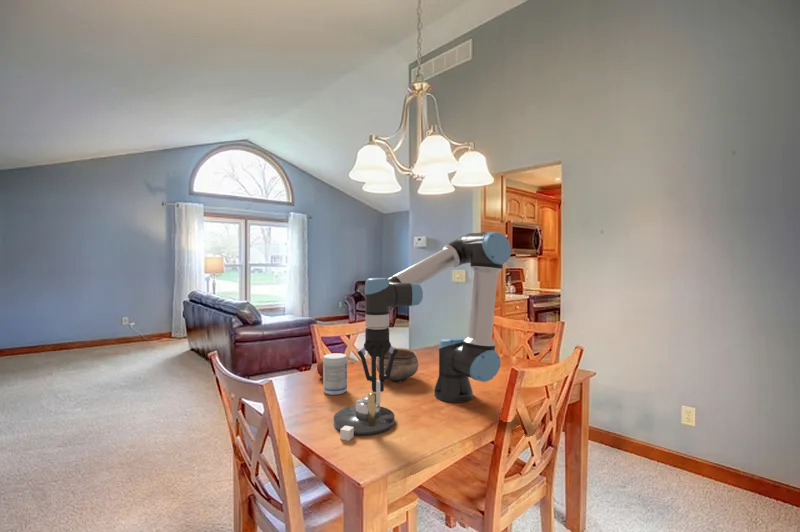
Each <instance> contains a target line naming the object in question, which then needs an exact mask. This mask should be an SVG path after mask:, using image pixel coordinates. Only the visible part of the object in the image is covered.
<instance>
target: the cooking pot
mask: <svg viewBox="0 0 800 532" xmlns="http://www.w3.org/2000/svg"><path fill="white" fill-rule="evenodd" d="M395 348H396V349H397V350H398V352H397V354H396V355H395V357H394V361H393V365H392V370H391V374H390V378H389V379H388V381H390V382H393V383H400V382H402V383H403V382H404V381H406V380H408V379H409V378H411V377H413V376H414V375H415V374H416V373H417V372H418V370H419V360H418V357H417V354H418V353H417V351H415V350H413V349H409V348H402V347H395ZM389 351H390V349H389V350H388V352H387V353H386V355H385V356H384V375H385V372H386V367H387V363H388V359H389V355H390V352H389ZM376 371H377V372H378V373H379V357H377V358H376Z"/></svg>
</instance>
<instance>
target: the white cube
mask: <svg viewBox="0 0 800 532" xmlns="http://www.w3.org/2000/svg"><path fill="white" fill-rule="evenodd" d="M339 435H340V436H339V437H340V438H339V439H340V440H343V441H347V442H350V441H351V440H352V439H353V438H354V437H355V435H354V427H351V426H344V427H343V428H341V429H340V431H339Z"/></svg>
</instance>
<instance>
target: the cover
mask: <svg viewBox="0 0 800 532" xmlns="http://www.w3.org/2000/svg"><path fill="white" fill-rule="evenodd" d="M355 406H356V418H357V419H359V420H363V421H368V395H364V396H363V397H362V398H360V399H358V400H356V401H355ZM380 406H381V403H376V419H378V418H379V417H380Z"/></svg>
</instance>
